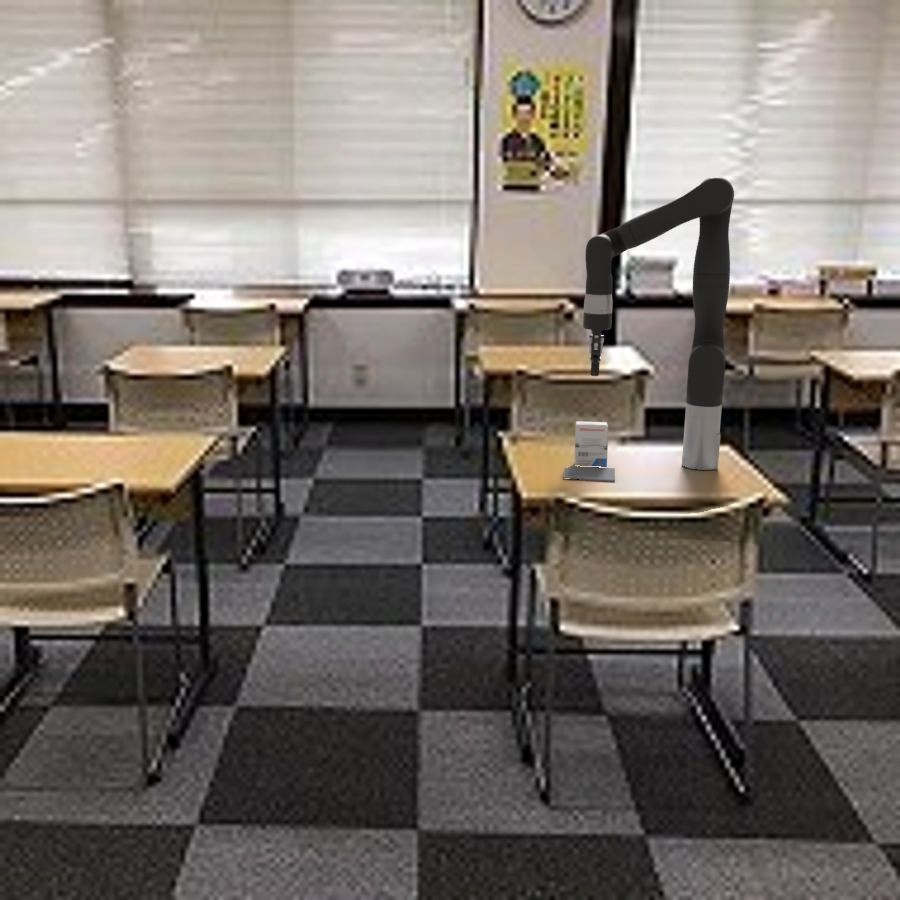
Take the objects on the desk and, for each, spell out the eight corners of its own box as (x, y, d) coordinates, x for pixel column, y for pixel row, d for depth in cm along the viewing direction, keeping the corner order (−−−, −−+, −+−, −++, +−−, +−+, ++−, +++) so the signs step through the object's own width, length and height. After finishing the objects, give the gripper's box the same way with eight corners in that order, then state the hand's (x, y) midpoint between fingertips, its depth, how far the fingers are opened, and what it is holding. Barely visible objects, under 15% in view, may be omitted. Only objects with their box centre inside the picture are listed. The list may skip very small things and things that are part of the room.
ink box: (605, 463, 282) (608, 421, 279) (606, 468, 278) (608, 425, 275) (573, 462, 283) (575, 420, 280) (574, 467, 278) (576, 424, 275)
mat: (614, 470, 276) (614, 468, 276) (614, 482, 265) (614, 480, 265) (565, 467, 278) (565, 465, 278) (563, 479, 267) (563, 477, 267)
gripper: (612, 314, 272) (608, 380, 276) (612, 308, 285) (608, 371, 289) (583, 313, 273) (580, 379, 277) (584, 307, 286) (581, 370, 290)
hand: (594, 374), depth 283 cm, fingers closed
